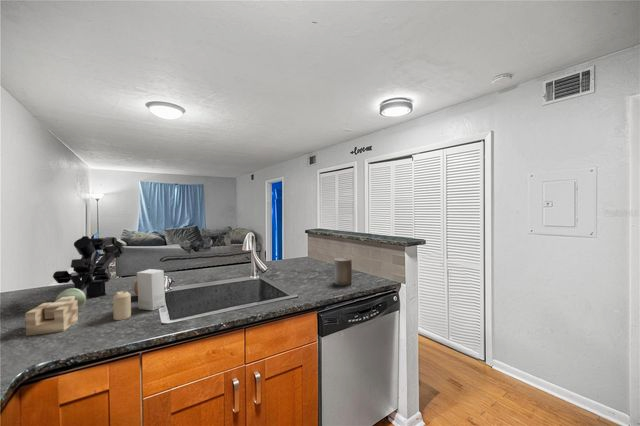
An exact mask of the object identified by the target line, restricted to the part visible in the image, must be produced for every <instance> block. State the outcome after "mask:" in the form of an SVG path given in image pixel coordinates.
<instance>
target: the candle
mask: <svg viewBox="0 0 640 426" xmlns="http://www.w3.org/2000/svg"><path fill="white" fill-rule="evenodd" d="M131 297H132V294H131V293H130V292H128V291H127V290H121V291H117V292H116V293H115V294H114V295H113V297H112V306H113V310H112V311H113V312H112V313H113V314H112V315H113V320H114V321H122V320H126V319H129V318H130V317H131V316H132V301H131V299H132V298H131Z"/></svg>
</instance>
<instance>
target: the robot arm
mask: <svg viewBox="0 0 640 426" xmlns="http://www.w3.org/2000/svg"><path fill="white" fill-rule="evenodd" d="M73 246H74V247H75V249H76V251H77V253H78V254H79V255H80V256H81V258H80V259H79V258H76V259H75V258H74V259H71V264H70V268H72V269H73V272H71V273H69V271H68V270H57V271H55V272H54V273H53V274H52V278H53V279H54V281H56V283H57V284H68V283H70V282H71V283H73V285H74V288H76V289H80V290H82V291H84V290H85V295H86V297H87V298H88V299H91V298H97V297H102V296H107V293H106V283H108V282H109V280H111V277H112V273H111V272H110V270H109V269H108V267H109V266H110V265H111V263H112V262H113V261H114V260H115V259H118V258H120V257H122V255H123V254H124V252H125V248H124V246H123V243H122V242H121V241H118V240H117V237H113V236H111V237H110V236H108V237H107V236H105V237H95V238H93V237H91V238H90V237H89V236H88V235H85V236H84V235H83V236H81V238H78V239H77V240H75V241H74V243H73ZM99 251H102V252H103V254H102V256H101V257H100V253H99ZM98 259H99V260H98Z"/></svg>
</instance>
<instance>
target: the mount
mask: <svg viewBox="0 0 640 426" xmlns="http://www.w3.org/2000/svg"><path fill="white" fill-rule="evenodd" d="M52 303H53V302H51V301H50V302H43V303H41V304H39V305H37V306H36V307H34V308H32V309H29V311H27V312H25V336H34V335H41V334H42V335H43V334H51V333H59V332H65V331H66V330H67V329H68V328H69V327H71V326H72V325H74V323H76V322H77V321H78V320H79V309H78V300H71V301H68V302H66V303H65V304H63V305H62V306H60V307H59V308H57V309H56V310H54V318H51V319H45V315H44V308H45V307H47V306H48V305H50V304H52Z"/></svg>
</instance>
